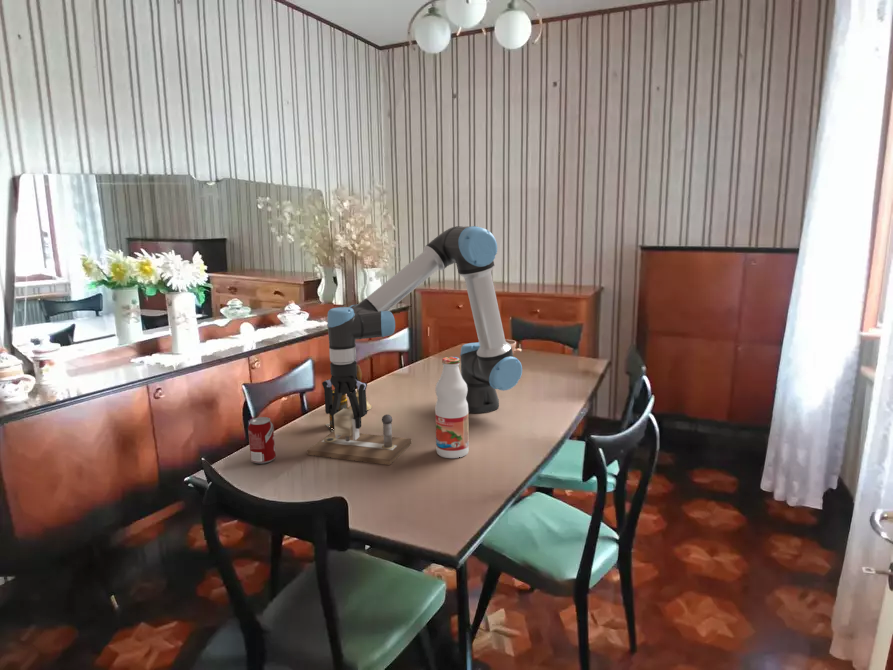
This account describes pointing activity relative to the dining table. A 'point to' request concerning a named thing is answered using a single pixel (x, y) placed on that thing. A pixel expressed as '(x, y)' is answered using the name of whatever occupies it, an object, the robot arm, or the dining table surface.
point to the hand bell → (359, 376)
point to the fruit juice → (451, 411)
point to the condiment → (342, 405)
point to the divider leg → (344, 423)
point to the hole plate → (363, 446)
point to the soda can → (261, 440)
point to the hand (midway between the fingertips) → (347, 437)
